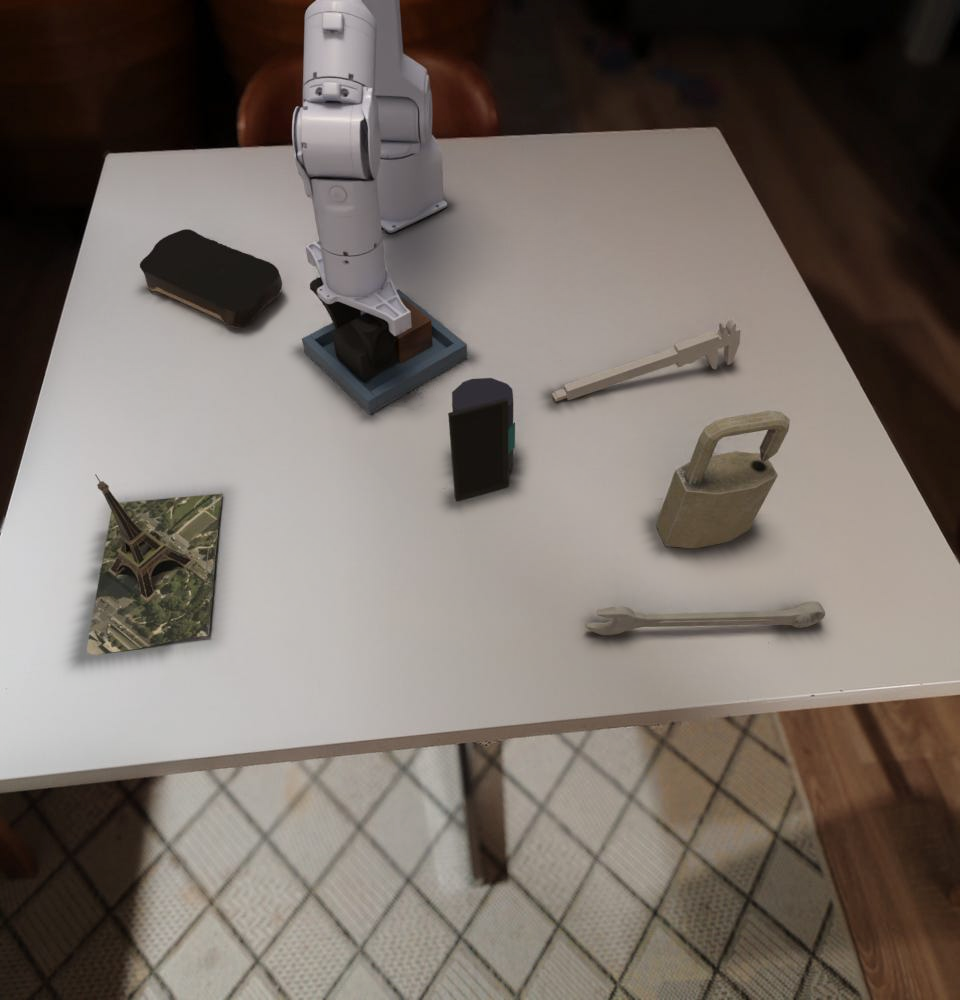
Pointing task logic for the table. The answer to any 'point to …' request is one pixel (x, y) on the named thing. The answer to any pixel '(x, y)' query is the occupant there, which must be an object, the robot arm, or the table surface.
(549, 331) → the table surface
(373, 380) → the holder
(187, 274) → the black sponge
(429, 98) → the robot arm
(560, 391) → the caliper
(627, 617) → the combination wrench
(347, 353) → the black block
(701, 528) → the padlock
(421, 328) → the walnut block
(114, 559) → the eiffel tower figurine
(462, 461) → the speaker
